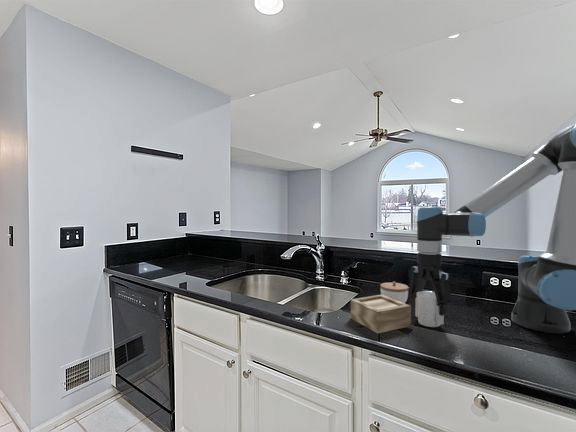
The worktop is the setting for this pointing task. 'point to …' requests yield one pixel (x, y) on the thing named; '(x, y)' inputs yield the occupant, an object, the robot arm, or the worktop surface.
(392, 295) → the lidded jar
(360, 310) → the wooden box
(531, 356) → the worktop surface
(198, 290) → the worktop surface
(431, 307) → the white cup
